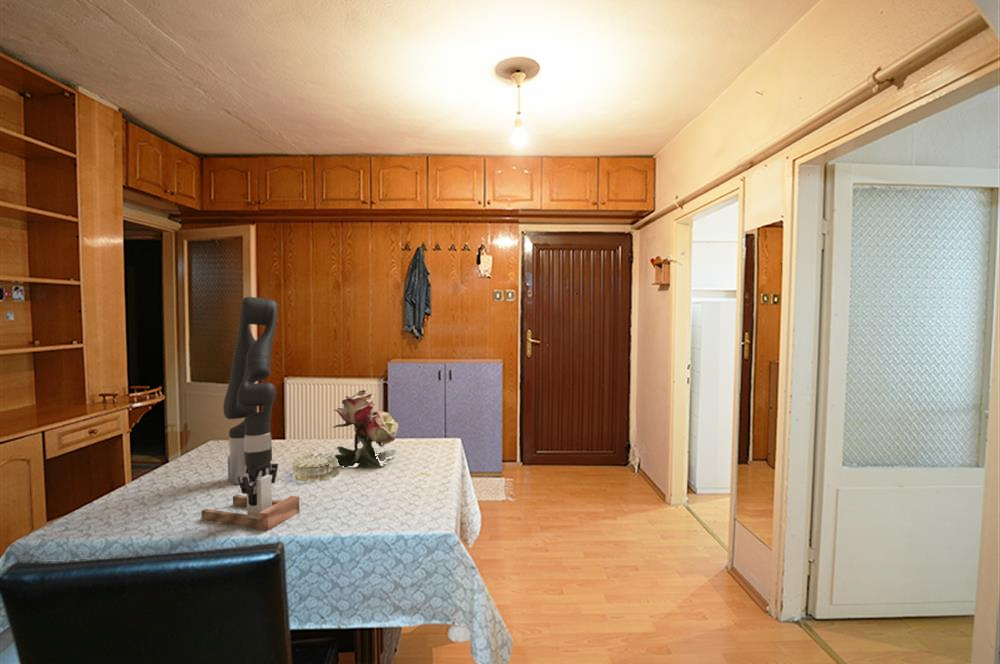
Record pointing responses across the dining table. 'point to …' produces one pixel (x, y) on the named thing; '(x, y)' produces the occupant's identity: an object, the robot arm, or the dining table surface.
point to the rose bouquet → (365, 430)
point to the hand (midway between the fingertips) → (259, 502)
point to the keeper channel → (266, 520)
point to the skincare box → (261, 496)
